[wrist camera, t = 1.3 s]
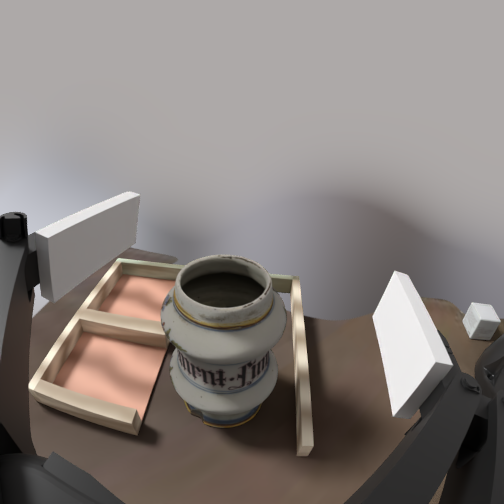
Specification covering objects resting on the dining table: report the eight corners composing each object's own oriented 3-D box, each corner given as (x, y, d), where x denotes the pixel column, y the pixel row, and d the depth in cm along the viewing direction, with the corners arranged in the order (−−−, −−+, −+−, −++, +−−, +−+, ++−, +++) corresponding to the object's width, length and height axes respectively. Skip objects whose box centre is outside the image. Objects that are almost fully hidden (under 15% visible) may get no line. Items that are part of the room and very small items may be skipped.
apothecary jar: (155, 402, 33) (126, 283, 24) (210, 348, 42) (210, 233, 34) (240, 453, 28) (251, 347, 20) (287, 384, 38) (314, 268, 29)
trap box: (307, 456, 28) (313, 445, 27) (36, 400, 29) (27, 387, 27) (296, 289, 57) (298, 276, 55) (120, 271, 57) (118, 258, 56)
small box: (481, 323, 49) (491, 304, 46) (490, 341, 44) (501, 321, 41) (461, 320, 50) (471, 301, 47) (469, 339, 45) (480, 319, 42)
